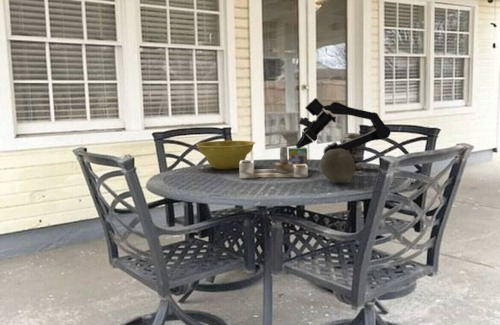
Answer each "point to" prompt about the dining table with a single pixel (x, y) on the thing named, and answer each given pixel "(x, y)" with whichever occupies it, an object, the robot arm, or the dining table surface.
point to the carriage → (284, 160)
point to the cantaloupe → (338, 165)
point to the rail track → (270, 171)
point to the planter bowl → (225, 153)
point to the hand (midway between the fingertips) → (297, 146)
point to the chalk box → (298, 155)
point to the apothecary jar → (354, 151)
